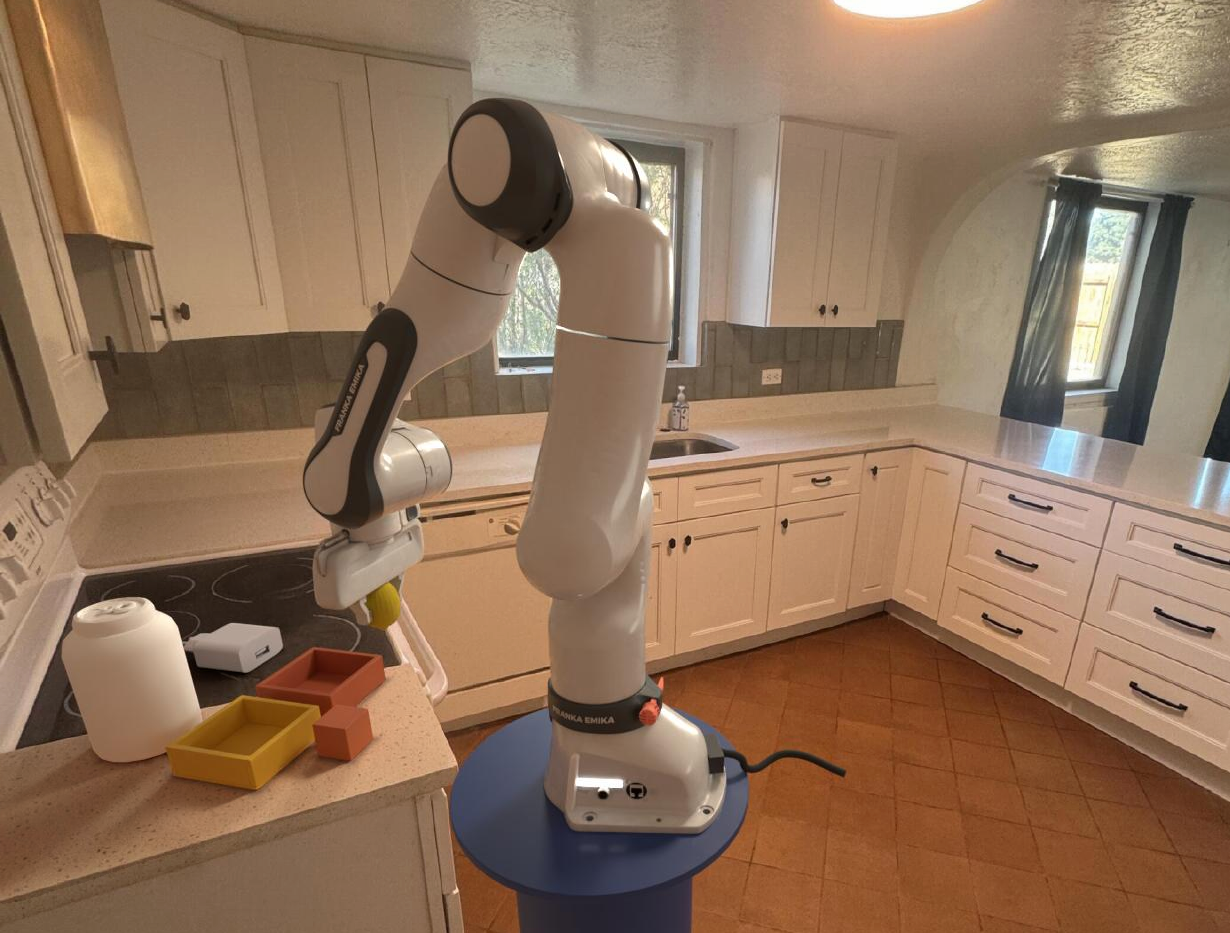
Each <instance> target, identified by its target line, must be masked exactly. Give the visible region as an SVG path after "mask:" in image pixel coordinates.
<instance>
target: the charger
mask: <svg viewBox="0 0 1230 933" xmlns="http://www.w3.org/2000/svg"><path fill="white" fill-rule="evenodd" d="M182 644H183V648H184V652H185V653H187V652H188V653H193V655H194V659H195V663H196V666H197V667H198V668H203V669H212V670H221V671H228V672H237V673H250V672H251V671H253V670H255V669H256V668H258V667H259V666H261V665H262V664H263V663H266V661H269V660H270V659H272V658H273V657H275V656H276V655H278V653H280V651H281V650H282V649H283V647H284V644H283V639H282V635H281V630H280V628H279V627H275V626H267V625H256V624H249V623H248V624H246V623H238V622H230V623H228V624H225V625H223V626H221V627H220V628H218V629H216V630H214V631H213V632H210V633H208V632H207V633H202V632H201V633H199V634H197V635H195V636H190V637H189V638H188V641H182Z"/></svg>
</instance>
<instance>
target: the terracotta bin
mask: <svg viewBox="0 0 1230 933" xmlns="http://www.w3.org/2000/svg"><path fill="white" fill-rule="evenodd" d="M386 680H387V678H386V672H385V665H384V660H383V655H382V654H376V653H366V652H358V651H350V650H342V649H335V648H334V649H332V648H326V647H317V646H312V647H311V648H309V649H308V650H306V651H305V652H303V653H302V654H300V655H299V656H298V657H296V658H294V659H293V660H291V661H290V662H289V663H287V664H286V665H284V666H283V667H281V668H280V669H278V670H276V672H273V674H271V675H270V676H268V677H267V678H265V679H263V680H262V681H261V682H259V683H257V684H256V685H255V686H254V689H255V693H256V697H259V698H266V699H273V700H280V701H287V702H295V703H302V704H309V705H316V706H319V710H320V715H321V717H322V716H323V715H324V714H325V713H327V712H328V711H329V710H330V709H331V708H333V707H334V706H335V705H344V706H351V707H357V705H358V704H360V703H361V702H362V701H363V700H364V699H365V698H367V697H368V696H369V695H370V694H371V693H372V692H374V691H375V690H376V689H377V688H378V687H379V686H381V685H382V684H384V682H385V681H386Z"/></svg>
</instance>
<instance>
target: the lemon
mask: <svg viewBox="0 0 1230 933" xmlns="http://www.w3.org/2000/svg"><path fill="white" fill-rule="evenodd" d="M401 604H402V602H400V598H399V595H398V593H397V591H396V589H395V588H394V586H393V585H392V584H390V583H389V581H388V582H386V583H385V584H383V585H382V586H380V587H379V588H377V589H375V590H374V591H372V592H371V593H369V594H368V595H366V602H365V603H364V605H365V606H366V608H367V609H370V610H373V616H374V621H372V622H371V623H369V624H368V625H367V626H369V627H371V628H375V629H379V630H381V631H383V632H384V631H387V629H389V627H391V626H392V625H393V624H395V623H396V622H397V621H398V619H399V618H400V615H401V610H402V607H401V606H402V605H401Z"/></svg>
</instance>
